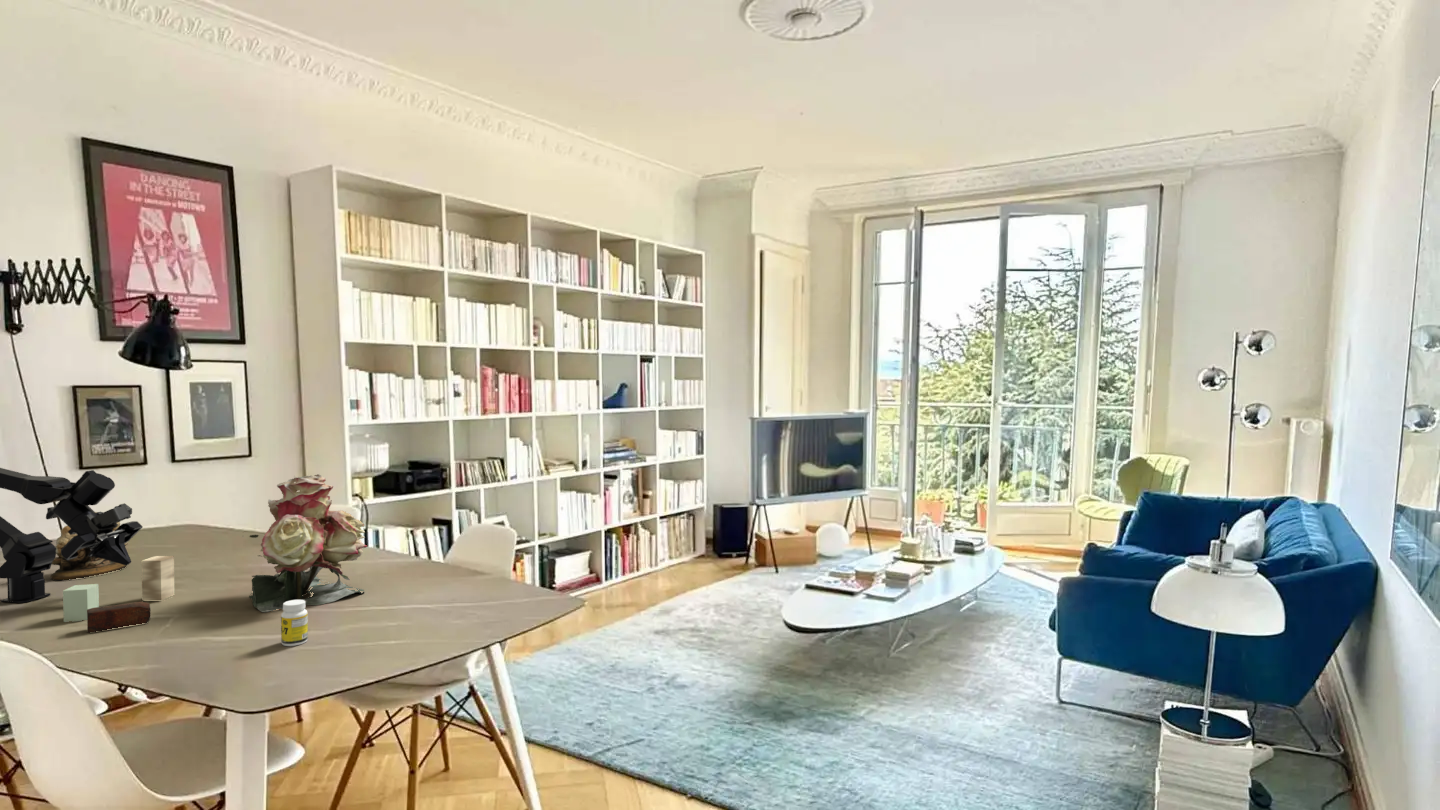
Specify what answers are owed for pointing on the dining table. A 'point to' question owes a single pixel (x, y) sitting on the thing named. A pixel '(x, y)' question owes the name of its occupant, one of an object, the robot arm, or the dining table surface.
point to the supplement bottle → (294, 623)
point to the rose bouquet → (306, 546)
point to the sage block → (79, 601)
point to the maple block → (158, 578)
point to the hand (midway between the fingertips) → (128, 563)
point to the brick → (117, 616)
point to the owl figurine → (80, 561)
